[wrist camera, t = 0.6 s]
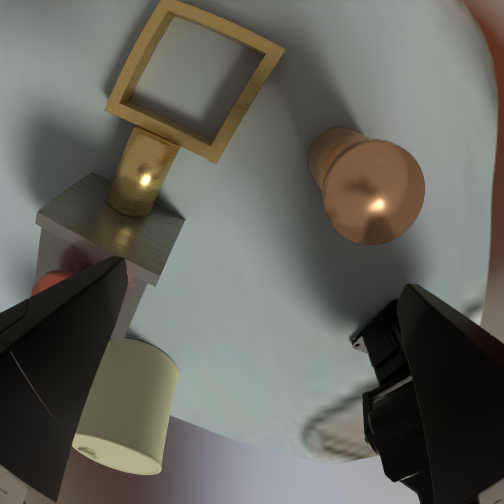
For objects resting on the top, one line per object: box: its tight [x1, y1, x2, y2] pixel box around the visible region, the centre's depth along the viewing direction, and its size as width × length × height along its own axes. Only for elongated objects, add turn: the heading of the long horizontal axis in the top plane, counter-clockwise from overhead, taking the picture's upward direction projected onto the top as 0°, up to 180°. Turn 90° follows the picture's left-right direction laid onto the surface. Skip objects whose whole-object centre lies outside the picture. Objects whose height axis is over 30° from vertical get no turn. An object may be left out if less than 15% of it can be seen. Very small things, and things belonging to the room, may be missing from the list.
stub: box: [308, 127, 425, 245], centre depth 16 cm, size 5×5×7 cm
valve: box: [32, 125, 185, 344], centre depth 17 cm, size 8×12×9 cm
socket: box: [105, 0, 285, 163], centre depth 16 cm, size 8×8×2 cm
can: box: [72, 338, 179, 475], centre depth 25 cm, size 9×9×12 cm
